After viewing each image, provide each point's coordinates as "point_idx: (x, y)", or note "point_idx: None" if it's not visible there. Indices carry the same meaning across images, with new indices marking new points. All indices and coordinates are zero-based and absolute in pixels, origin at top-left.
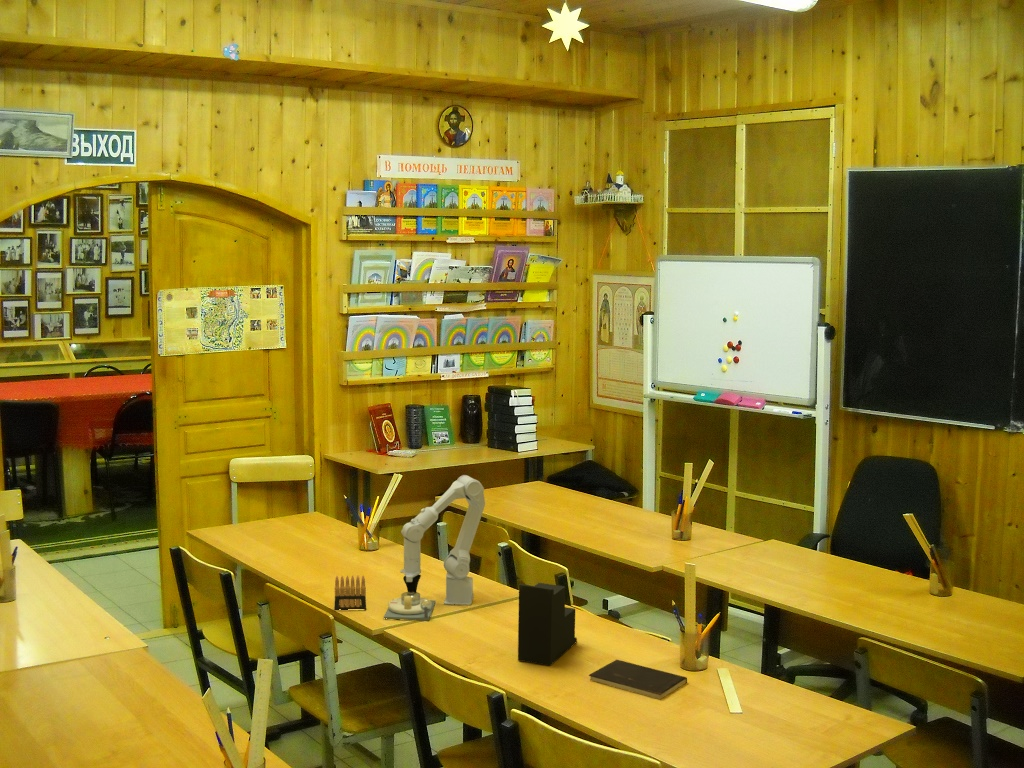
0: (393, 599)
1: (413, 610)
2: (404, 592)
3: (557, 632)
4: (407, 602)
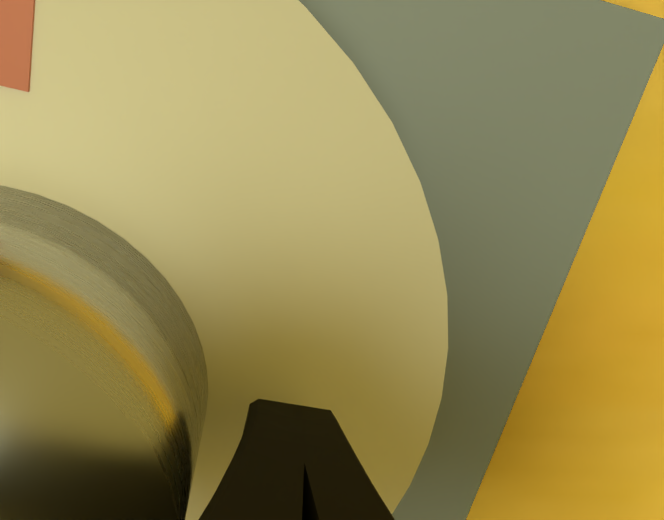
0: (655, 38)
1: None
2: (92, 384)
3: None
4: None
